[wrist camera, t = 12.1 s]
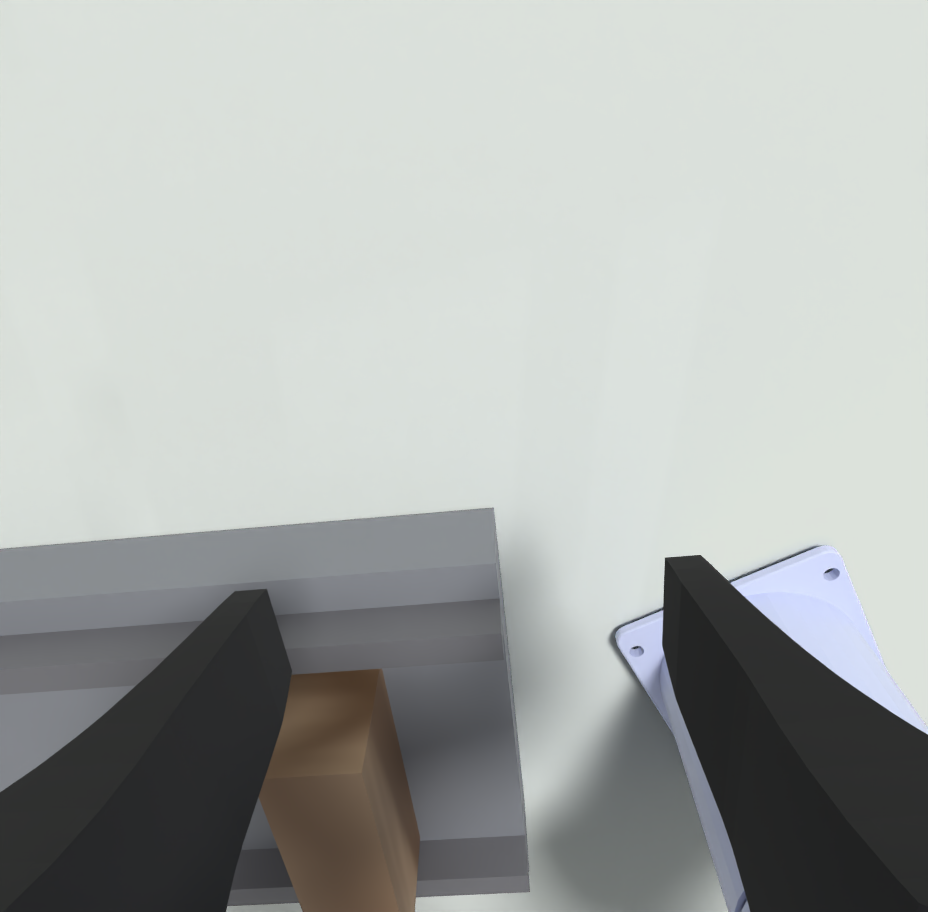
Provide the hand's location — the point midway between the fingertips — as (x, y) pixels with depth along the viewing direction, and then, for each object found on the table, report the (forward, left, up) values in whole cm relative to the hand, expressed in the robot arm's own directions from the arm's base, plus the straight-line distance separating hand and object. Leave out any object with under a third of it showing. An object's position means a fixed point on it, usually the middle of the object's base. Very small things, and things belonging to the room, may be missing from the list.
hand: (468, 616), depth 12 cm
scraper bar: (-9, +9, -6) cm, 14 cm away
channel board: (-6, +13, -9) cm, 18 cm away
